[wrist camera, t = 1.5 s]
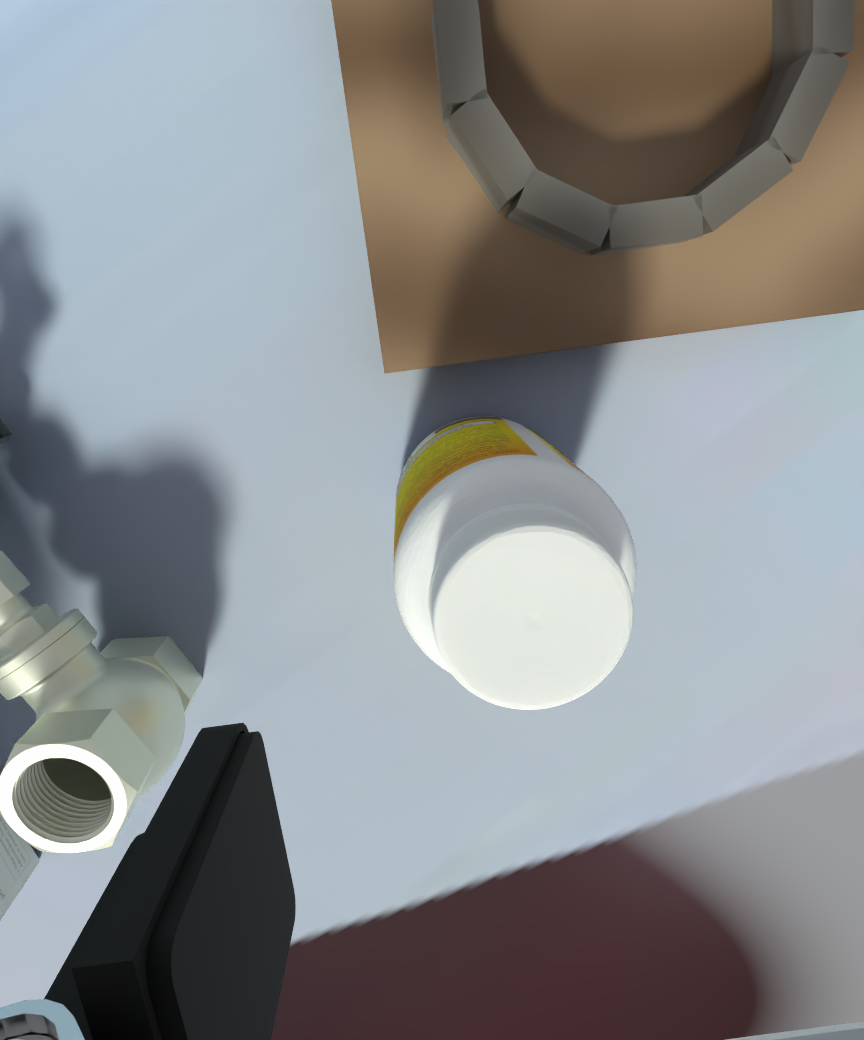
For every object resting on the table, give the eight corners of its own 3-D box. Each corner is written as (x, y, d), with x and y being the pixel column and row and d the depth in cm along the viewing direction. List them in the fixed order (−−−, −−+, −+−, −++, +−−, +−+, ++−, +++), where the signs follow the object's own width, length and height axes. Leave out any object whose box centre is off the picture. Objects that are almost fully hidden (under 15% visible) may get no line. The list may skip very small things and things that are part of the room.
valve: (261, 676, 25) (31, 387, 22) (212, 795, 19) (-119, 412, 16) (113, 768, 26) (-128, 500, 23) (19, 912, 20) (-330, 566, 17)
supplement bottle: (369, 538, 24) (343, 687, 14) (439, 384, 23) (464, 430, 13) (518, 601, 25) (592, 785, 15) (593, 456, 23) (730, 551, 14)
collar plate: (302, -217, 19) (279, -338, 15) (876, -292, 19) (982, -430, 15) (385, 370, 22) (382, 377, 19) (859, 307, 23) (939, 304, 19)
